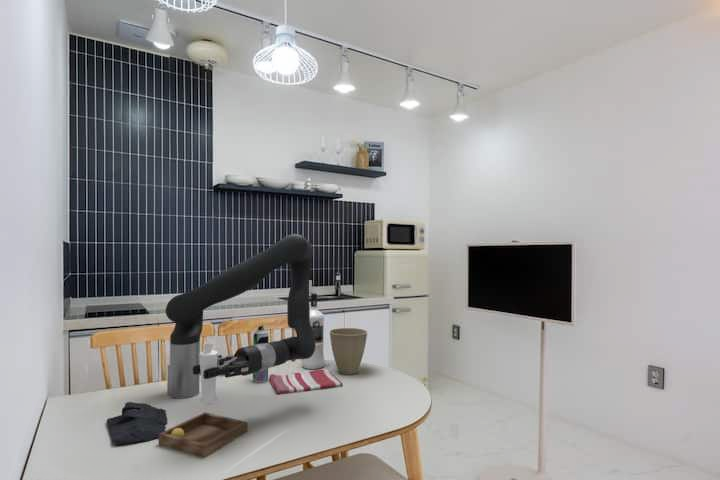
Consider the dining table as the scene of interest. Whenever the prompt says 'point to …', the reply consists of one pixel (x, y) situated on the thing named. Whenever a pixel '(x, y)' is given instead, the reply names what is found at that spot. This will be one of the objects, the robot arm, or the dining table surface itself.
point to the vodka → (316, 336)
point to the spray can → (260, 338)
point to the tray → (204, 434)
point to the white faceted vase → (206, 362)
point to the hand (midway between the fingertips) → (199, 372)
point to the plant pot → (348, 348)
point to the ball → (178, 432)
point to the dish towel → (304, 381)
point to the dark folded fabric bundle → (137, 424)
